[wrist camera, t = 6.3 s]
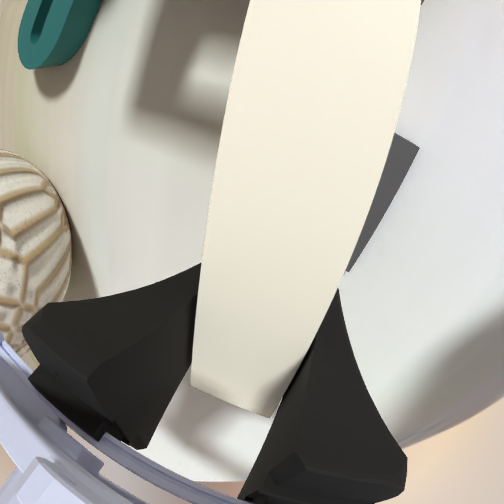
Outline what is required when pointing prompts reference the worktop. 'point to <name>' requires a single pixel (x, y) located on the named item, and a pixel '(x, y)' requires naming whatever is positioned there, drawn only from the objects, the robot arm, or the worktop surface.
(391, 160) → the mat
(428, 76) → the worktop surface
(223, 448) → the worktop surface
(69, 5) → the bracket
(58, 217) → the vase
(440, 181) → the worktop surface
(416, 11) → the cream flat block piece
